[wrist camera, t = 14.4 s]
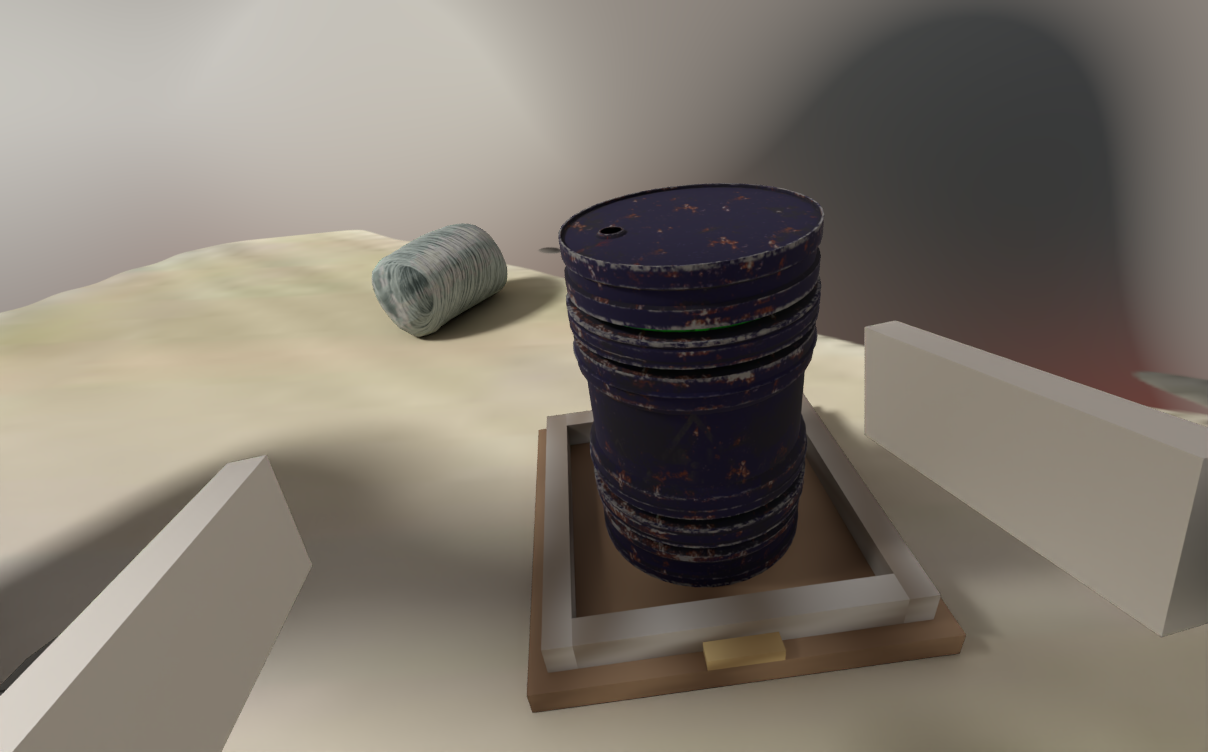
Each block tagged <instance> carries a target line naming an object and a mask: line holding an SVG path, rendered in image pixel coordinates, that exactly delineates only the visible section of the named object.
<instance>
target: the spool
mask: <svg viewBox="0 0 1208 752" xmlns="http://www.w3.org/2000/svg"><path fill="white" fill-rule="evenodd" d="M506 281H507V266H506V263H505V260H504V258H503V255H502V253H501V251H500V249H499V247H498V246H497V244H496V243H495V242H494V240H493V239H492V237H491V236H490V235H489V234H488V233H486V232H485V231H484V230H483V229H481V228H479V227H477V226H475V225H470V224H456V225H450V226H446V227H443V228H441V229H438V230H435V231H432V232H429V233H427V234H425V235H422V236H420V237H419V238H417V239H415V240H413V241H411V242H410V243H408V244H406V245H404V246H403V247H401V248H400V249H398V250H396V251H395V252H393V253H392V254H390V255H388V256H386V257H384V258H382V259H381V260H380V261H379V262H378V264H377V265H376V267H375V268H374V270H373V271H372V285H373V289H374V292H375V294H376V297H377V299H378V301H379V303H380V305H381V306H382V308H383V309H384V311H385V312H386V313H387V315H388V316H389V317H390V318H391V320H392V321H393V322H394V323H395V324H396V325H397V326H398V327H399V328H401V329H402V330H404V331H406V332H408V333H410V334H411V335H414V336H417V337H420V336H424V335H428V334H431V333H434V332H436V331H437V330H438V329H439V328H440V327H441V326H442V325H444V324H445V323H447V322H448V321H449V320H450V319H452V318H454V317H456V316H458V315H459V314H460V313H462V312H464V311H465V310H467V309H469V308H471V307H472V306H474V305H476V304H478V303H480V302H482V301H483V300H484V299H487V298H489V297H490V296H492V295H493V294H495V293H497V292H499V291H500V290H501V289H502V288H503V287H504V285H505V284H506Z"/></svg>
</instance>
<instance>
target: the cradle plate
mask: <svg viewBox="0 0 1208 752" xmlns="http://www.w3.org/2000/svg"><path fill="white" fill-rule="evenodd" d="M801 414H802V416H803V419H804V421H805V424H806V435H807V451H806V456H805V475H804V484H803V490H802V494H801V496H800V499H799V504H798V523H797V529H796V534H795V536H794V539H793V541H792V544H791V546H790V547H789V548H788V550H787V551H786V553H785V554H784V556H783V557H782V558H781V559H780V560H778V561H777V562H776V563H775V564H774V565H773V566H772V567H770V568H769V569H767V570H766V571H764V572H763V573H761V574H759V575H757V576H755V577H753V578H750V579H748V580H746V581H742V582H739V583H735V584H732V585H726V586H719V587H689V586H681V585H676V584H672V583H669V582H665V581H662V580H659V579H657V578H654V577H652V576H650V575H647V574H646V573H644V572H642V571H641V570H639V569H637V568H636V567H634V566H633V565H632V564H631V563H629V562H628V561H627V560H626V559H625V558H624V557H623V556H622V555H621V554H620V553H619V551H618V550H617V549H616V548H615V546H614V544H613V543H612V541H611V539H610V537H609V534H608V531H607V528H606V524H605V517H604V507H603V504H602V500H601V498H600V495H599V492H598V489H597V484H596V479H595V473H594V464H593V461H592V458H591V455H590V441H591V439H590V432H591V426H592V423H593V420H594V419H593V412H592V410H591V411H584V412H576V413H569V414H562V415H555V416H548V417H547V429H542V430H539V436H538V459H537V481H536V503H535V526H534V548H533V571H532V593H531V615H530V638H529V660H528V683H527V698H528V701H529V703H530V706H531V709H532V712H540V711H547V710H555V709H562V708H569V707H576V706H583V705H591V704H598V703H605V702H612V701H619V700H627V699H634V698H641V697H648V696H655V695H663V694H670V693H677V692H684V691H691V690H699V689H706V688H713V687H720V686H727V685H735V684H742V683H749V682H756V681H763V680H771V679H778V678H785V677H792V676H799V675H807V674H814V673H821V672H828V671H835V670H843V669H850V668H857V667H864V666H871V665H879V664H886V663H893V662H900V661H907V660H915V659H922V658H929V657H936V656H943V655H951V654H958V653H960V651H961V648H962V645H963V642H964V640H965V637H966V634H965V632H964V631H963V629H962V628H961V627H960V625H959V624H958V622H957V621H956V619H955V618H954V616H953V615H952V613H951V612H950V610H949V609H948V607H947V606H946V604H945V603H944V602H943V600H942V599H941V594H940V593H939V591H938V590H937V588H936V587H935V585H934V584H933V583H932V581H931V580H930V578H929V577H928V575H927V574H926V572H925V571H924V569H923V568H922V566H921V565H920V563H919V562H918V561H917V559H916V558H915V556H914V555H913V553H912V552H911V550H910V549H909V547H908V546H907V544H906V543H905V542H904V540H903V539H902V537H901V536H900V534H899V533H898V531H897V530H896V528H895V527H894V525H893V524H892V523H891V521H890V520H889V518H888V517H887V515H886V514H885V512H884V511H883V509H882V508H881V506H880V505H879V503H878V502H877V501H876V499H875V498H874V496H873V495H872V493H871V492H870V490H869V489H868V487H867V486H866V484H865V483H864V482H863V480H862V479H861V477H860V476H859V474H858V473H857V471H856V470H855V468H854V467H853V465H852V464H851V462H850V461H849V460H848V458H847V457H846V455H845V454H844V452H843V451H842V449H841V448H840V446H839V445H838V443H837V442H836V441H835V439H834V438H833V436H832V435H831V433H830V432H829V430H828V429H827V427H826V426H825V424H824V423H823V422H822V420H821V419H820V417H819V416H818V414H817V413H816V411H815V410H814V408H813V407H812V405H811V404H810V402H809V401H808V400H807V398H806V397H805V395H804V394H803V398H802V410H801Z"/></svg>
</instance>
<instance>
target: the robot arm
mask: <svg viewBox="0 0 1208 752" xmlns="http://www.w3.org/2000/svg"><path fill="white" fill-rule="evenodd" d="M865 435H866V436H867V437H869V438H870V439H872V440H873V441H874V442H876V443H877V444H879V445H880V446H882V447H883V448H885V449H886V450H888V451H889V452H891V453H892V454H894V455H895V456H896V457H898V458H899V459H901V460H902V461H904V462H905V463H907V464H908V465H910V466H911V467H913V468H914V469H916V470H917V471H918V472H920V473H921V474H923V475H924V476H926V477H927V478H929V479H930V480H932V481H933V482H935V483H936V484H937V485H939V486H940V487H942V488H943V489H945V490H946V491H948V492H949V493H951V494H952V495H954V496H955V497H957V498H958V499H959V500H961V501H962V502H964V503H965V504H967V505H968V506H970V507H971V508H973V509H974V510H976V511H977V512H979V513H980V514H981V515H983V516H984V517H986V518H987V519H989V520H990V521H992V522H993V523H995V524H996V525H998V526H999V527H1001V528H1002V529H1003V530H1005V531H1006V532H1008V533H1009V534H1011V535H1012V536H1014V537H1015V538H1017V539H1018V540H1020V541H1021V542H1023V543H1024V544H1025V545H1027V546H1028V547H1030V548H1031V549H1033V550H1034V551H1036V552H1037V553H1039V554H1040V555H1042V556H1043V557H1044V558H1046V559H1047V560H1049V561H1050V562H1052V563H1053V564H1055V565H1056V566H1058V567H1059V568H1061V569H1062V570H1064V571H1065V572H1066V573H1068V574H1069V575H1071V576H1072V577H1074V578H1075V579H1077V580H1078V581H1080V582H1081V583H1083V584H1084V585H1086V586H1087V587H1088V588H1090V589H1091V590H1093V591H1094V592H1096V593H1097V594H1099V595H1100V596H1102V597H1103V598H1105V599H1106V600H1108V601H1109V602H1110V603H1112V604H1113V605H1115V606H1116V607H1118V608H1119V609H1121V610H1122V611H1124V612H1125V613H1127V614H1128V615H1129V616H1131V617H1132V618H1134V619H1135V620H1137V621H1138V622H1140V623H1141V624H1143V625H1144V626H1146V627H1147V628H1149V629H1150V630H1151V631H1153V632H1154V633H1156V634H1157V635H1159V636H1160V637H1164V636H1167V635H1171V634H1174V633H1177V632H1181V631H1184V630H1187V629H1191V628H1194V627H1197V626H1201V625H1204V624H1207V623H1208V427H1205V426H1202V425H1199V424H1197V423H1194V422H1191V421H1188V420H1185V419H1182V418H1179V417H1176V416H1173V415H1170V414H1167V413H1164V412H1161V411H1158V410H1156V409H1153V408H1150V407H1147V406H1144V405H1141V404H1138V403H1135V402H1132V401H1129V400H1126V399H1123V398H1120V397H1118V396H1115V395H1112V394H1109V393H1106V392H1103V391H1100V390H1097V389H1094V388H1091V387H1088V386H1085V385H1082V384H1080V383H1077V382H1073V381H1071V380H1068V379H1065V378H1062V377H1059V376H1056V375H1053V374H1050V373H1047V372H1044V371H1042V370H1039V369H1036V368H1033V367H1030V366H1027V365H1024V364H1021V363H1018V362H1015V361H1012V360H1009V359H1006V358H1003V357H1001V356H997V355H995V354H992V353H989V352H986V351H983V350H980V349H977V348H974V347H971V346H968V345H965V344H963V343H960V342H957V341H954V340H950V339H948V338H945V337H942V336H939V335H936V334H933V333H930V332H927V331H924V330H922V329H919V328H916V327H913V326H910V325H907V324H904V323H901V322H898V321H891V322H886V323H882V324H877V325H872V326H868V327H865ZM311 567H312V563H311V561H310V559H309V556H308V554H307V551H306V549H305V546H304V544H303V541H302V539H301V537H300V534H299V532H298V529H297V527H296V524H295V522H294V520H293V517H292V515H291V512H290V510H289V507H288V505H287V503H286V500H285V498H284V495H283V493H282V490H281V488H280V486H279V483H278V481H277V478H276V476H275V473H274V471H273V469H272V466H271V464H270V461H269V459H268V456H267V455H263V456H258V457H254V458H249V459H244V460H240V461H235V462H230V463H227V464H226V465H225V466H224V467H223V468H222V469H221V470H220V471H219V472H218V473H217V474H216V475H215V476H214V477H213V478H212V479H211V480H210V481H209V482H208V483H207V484H206V485H205V486H204V487H203V488H202V489H201V490H200V492H199V493H198V494H197V495H196V496H195V497H194V498H193V499H192V500H191V501H190V502H189V503H188V504H187V505H186V506H185V507H184V508H183V509H182V510H181V511H180V512H179V513H178V514H177V515H176V516H175V517H174V518H173V519H172V520H171V521H170V522H169V523H168V524H167V525H166V526H165V527H164V529H163V530H162V531H161V532H160V533H159V534H158V535H157V536H156V537H155V538H154V539H153V540H152V541H151V542H150V543H149V544H148V545H147V546H146V547H145V548H144V549H143V550H142V551H141V552H140V553H139V554H138V555H137V556H136V557H135V558H134V559H133V560H132V561H131V562H130V563H129V564H128V566H127V567H126V568H125V569H124V570H123V571H122V572H121V573H120V574H119V575H118V576H117V577H116V578H115V579H114V580H113V581H112V582H111V583H110V584H109V585H108V586H107V587H106V588H105V589H104V590H103V591H102V592H101V593H100V594H99V595H98V596H97V597H96V598H95V599H94V600H93V601H92V603H91V604H90V605H89V606H88V607H87V608H86V609H85V610H84V611H83V612H82V613H81V614H80V615H79V616H78V617H77V618H76V619H75V620H74V621H73V622H72V623H71V624H70V625H69V626H68V627H67V628H66V629H65V630H64V631H63V632H62V633H61V634H60V635H59V636H57V637H56V638H55V639H53V640H52V641H51V642H49V643H48V644H46V645H45V646H44V647H42V648H41V649H40V650H38V651H37V652H35V653H34V654H33V655H31V656H30V657H29V658H27V659H26V660H25V661H24V662H23V663H22V664H21V665H20V666H19V667H18V668H17V669H16V670H15V671H14V672H13V673H12V674H11V675H10V676H9V677H8V678H7V679H6V680H5V681H4V682H3V683H2V684H1V685H0V752H222V750H223V748H224V746H225V743H226V741H227V739H228V737H229V735H230V733H231V731H232V729H233V727H234V725H235V723H236V721H237V719H238V717H239V715H240V713H241V711H242V709H243V707H244V705H245V702H246V700H247V698H248V696H249V694H250V692H251V690H252V688H253V686H254V684H255V682H256V680H257V678H258V676H259V674H260V672H261V670H262V668H263V666H264V664H265V661H266V659H267V657H268V655H269V653H270V651H271V649H272V647H273V645H274V643H275V641H276V639H277V637H278V635H279V633H280V631H281V629H282V627H283V625H284V623H285V620H286V618H287V616H288V614H289V612H290V610H291V608H292V606H293V604H294V602H295V600H296V598H297V596H298V594H299V592H300V590H301V588H302V586H303V584H304V582H305V579H306V577H307V575H308V573H309V571H310V569H311Z"/></svg>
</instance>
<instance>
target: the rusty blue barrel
mask: <svg viewBox="0 0 1208 752" xmlns="http://www.w3.org/2000/svg"><path fill="white" fill-rule="evenodd" d="M823 223H824V212H823V209H822V207H821V206H820V205H819V204H818V202H816V201H814V200H813V199H811V198H810V197H807V196H805V195H803V194H800V193H797V192H794V191H790V190H787V189H782V188H777V187H771V186H763V185H753V184H731V183H718V184H694V185H683V186H673V187H667V188H659V189H653V190H648V191H642V192H637V193H632V194H628V195H624V196H620V197H617V198H613V199H610V200H607V201H604V202H601V203H598V204H596V205H593V206H591V207H589V208H587V209H584V210H582V211H581V212H579V213H577V214H575V215H574V216H572V217H571V218H570V219H568V220H567V221H566V222H565V223H564V224H563V225H562V226H561V228H560V230H559V244H560V250H561V256H562V260H563V261H564V263H565V265H566V267H565V281H566V287H567V295H566V305H567V309H568V317H569V321H570V328H571V330H572V332H573V335H574V342H573V349H574V354H575V356H576V359H577V361H578V365H579V367H580V370H581V372H582V374H583V375H584V377H585V378H586V379H587V381H588V387H589V394H590V400H591V406H592V412H593V419H594V420H593V423H592V426H591V432H590V439H591V441H590V455H591V458H592V461H593V464H594V473H595V479H596V484H597V489H598V492H599V495H600V498H601V500H602V504H603V507H604V517H605V524H606V528H607V531H608V534H609V537H610V539H611V541H612V543H613V544H614V546H615V548H616V549H617V550H618V551H619V553H620V554H621V555H622V556H623V557H624V558H625V559H626V560H627V561H628V562H629V563H631V564H632V565H633V566H634V567H636V568H637V569H639V570H641V571H642V572H644V573H646V574H647V575H650V576H652V577H654V578H657V579H659V580H662V581H665V582H669V583H672V584H676V585H681V586H689V587H719V586H726V585H732V584H735V583H739V582H742V581H746V580H748V579H750V578H753V577H755V576H757V575H759V574H761V573H763V572H764V571H766V570H767V569H769V568H770V567H772V566H773V565H774V564H775V563H776V562H777V561H778V560H780V559H781V558H782V557H783V556H784V554H785V553H786V551H787V550H788V548H789V547H790V546H791V544H792V541H793V539H794V536H795V534H796V529H797V523H798V504H799V499H800V496H801V494H802V490H803V484H804V475H805V456H806V451H807V435H806V424H805V421H804V419H803V416H802V414H801V410H802V398H803V385H804V373H805V370H806V368H807V366H808V365H809V363H810V361H811V359H812V354H813V349H814V347H815V346H816V341H817V330H816V320H817V317H818V313H819V304H820V295H821V293H820V291H821V281H820V277H819V270H820V258H821V255H820V251H819V248H818V246H819V245H820V243H821V239H822V235H823Z"/></svg>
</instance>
